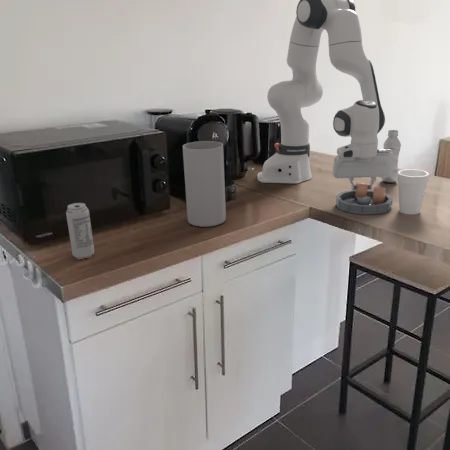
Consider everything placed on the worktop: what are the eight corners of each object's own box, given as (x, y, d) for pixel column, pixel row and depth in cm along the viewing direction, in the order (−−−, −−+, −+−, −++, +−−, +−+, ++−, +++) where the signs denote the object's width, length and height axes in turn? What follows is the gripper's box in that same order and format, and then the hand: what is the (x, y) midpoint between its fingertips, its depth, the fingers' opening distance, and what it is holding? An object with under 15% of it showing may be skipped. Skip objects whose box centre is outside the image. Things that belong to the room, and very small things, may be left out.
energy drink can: (91, 249, 148) (84, 200, 142) (97, 256, 143) (90, 206, 137) (70, 254, 145) (62, 204, 139) (76, 262, 140) (68, 210, 135)
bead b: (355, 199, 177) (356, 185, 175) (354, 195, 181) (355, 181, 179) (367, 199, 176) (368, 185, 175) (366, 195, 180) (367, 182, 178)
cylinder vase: (233, 222, 165) (230, 145, 156) (199, 230, 159) (195, 151, 150) (213, 211, 175) (209, 139, 166) (181, 219, 168) (175, 144, 160)
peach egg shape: (386, 204, 172) (387, 190, 170) (374, 204, 172) (375, 190, 170) (383, 200, 176) (384, 186, 174) (371, 201, 176) (372, 187, 174)
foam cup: (425, 217, 162) (429, 177, 158) (394, 215, 165) (398, 176, 160) (423, 207, 171) (427, 169, 166) (394, 205, 173) (397, 168, 169)
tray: (341, 215, 166) (342, 206, 165) (332, 198, 183) (333, 190, 182) (397, 214, 166) (398, 205, 164) (383, 197, 182) (384, 189, 181)
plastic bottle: (395, 179, 203) (400, 129, 195) (399, 184, 196) (404, 132, 189) (379, 179, 203) (382, 129, 196) (382, 184, 197) (386, 132, 190)
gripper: (392, 147, 175) (389, 185, 180) (332, 149, 176) (331, 187, 181) (397, 151, 169) (394, 191, 174) (335, 153, 170) (333, 192, 175)
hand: (361, 189), depth 177 cm, fingers closed on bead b, 4 cm apart
